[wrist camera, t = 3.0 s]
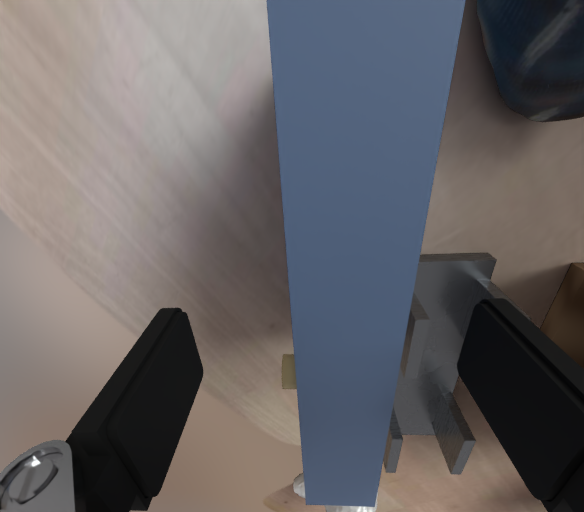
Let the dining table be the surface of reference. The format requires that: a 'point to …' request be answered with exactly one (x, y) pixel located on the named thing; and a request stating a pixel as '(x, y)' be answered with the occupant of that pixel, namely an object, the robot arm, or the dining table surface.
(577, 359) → the cabinet
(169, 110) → the dining table surface
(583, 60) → the seashell
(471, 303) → the grey slotted rack
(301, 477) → the white creature statuette
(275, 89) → the door
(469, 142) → the dining table surface
